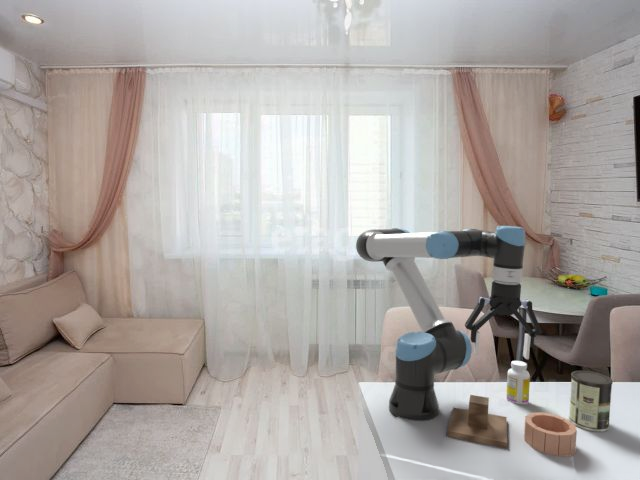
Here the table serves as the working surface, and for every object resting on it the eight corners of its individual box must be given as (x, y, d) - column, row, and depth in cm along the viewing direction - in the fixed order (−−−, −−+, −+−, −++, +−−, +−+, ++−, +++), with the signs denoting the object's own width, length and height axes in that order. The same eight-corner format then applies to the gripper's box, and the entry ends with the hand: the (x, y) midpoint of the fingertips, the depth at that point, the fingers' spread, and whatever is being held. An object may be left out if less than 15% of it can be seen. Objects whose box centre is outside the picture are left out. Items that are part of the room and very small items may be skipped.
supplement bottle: (527, 398, 146) (529, 361, 145) (529, 407, 140) (532, 368, 139) (505, 395, 148) (507, 358, 147) (506, 404, 142) (508, 365, 141)
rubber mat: (445, 438, 121) (445, 436, 121) (451, 412, 136) (451, 411, 136) (508, 451, 115) (508, 449, 115) (507, 423, 130) (508, 421, 130)
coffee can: (600, 416, 135) (603, 371, 133) (615, 434, 125) (619, 385, 123) (563, 413, 137) (566, 368, 135) (575, 429, 127) (578, 382, 125)
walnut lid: (447, 436, 121) (448, 406, 120) (452, 412, 135) (454, 385, 134) (506, 448, 115) (508, 417, 115) (506, 421, 129) (507, 393, 129)
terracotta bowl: (525, 451, 115) (526, 429, 115) (523, 429, 126) (524, 409, 126) (578, 462, 111) (579, 439, 110) (571, 438, 122) (572, 417, 121)
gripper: (462, 281, 121) (457, 356, 123) (559, 287, 117) (552, 364, 120) (457, 276, 128) (453, 347, 131) (549, 281, 125) (542, 354, 127)
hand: (500, 355), depth 125 cm, fingers open, 13 cm apart
